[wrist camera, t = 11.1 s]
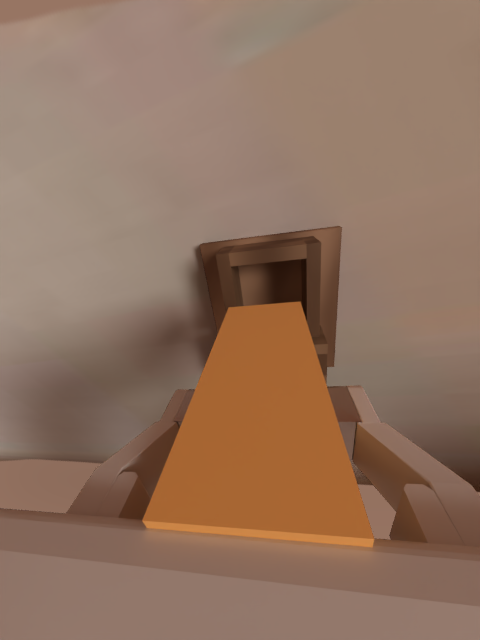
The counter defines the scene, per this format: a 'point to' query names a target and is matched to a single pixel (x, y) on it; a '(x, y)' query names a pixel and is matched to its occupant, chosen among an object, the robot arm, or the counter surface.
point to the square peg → (261, 441)
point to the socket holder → (280, 278)
